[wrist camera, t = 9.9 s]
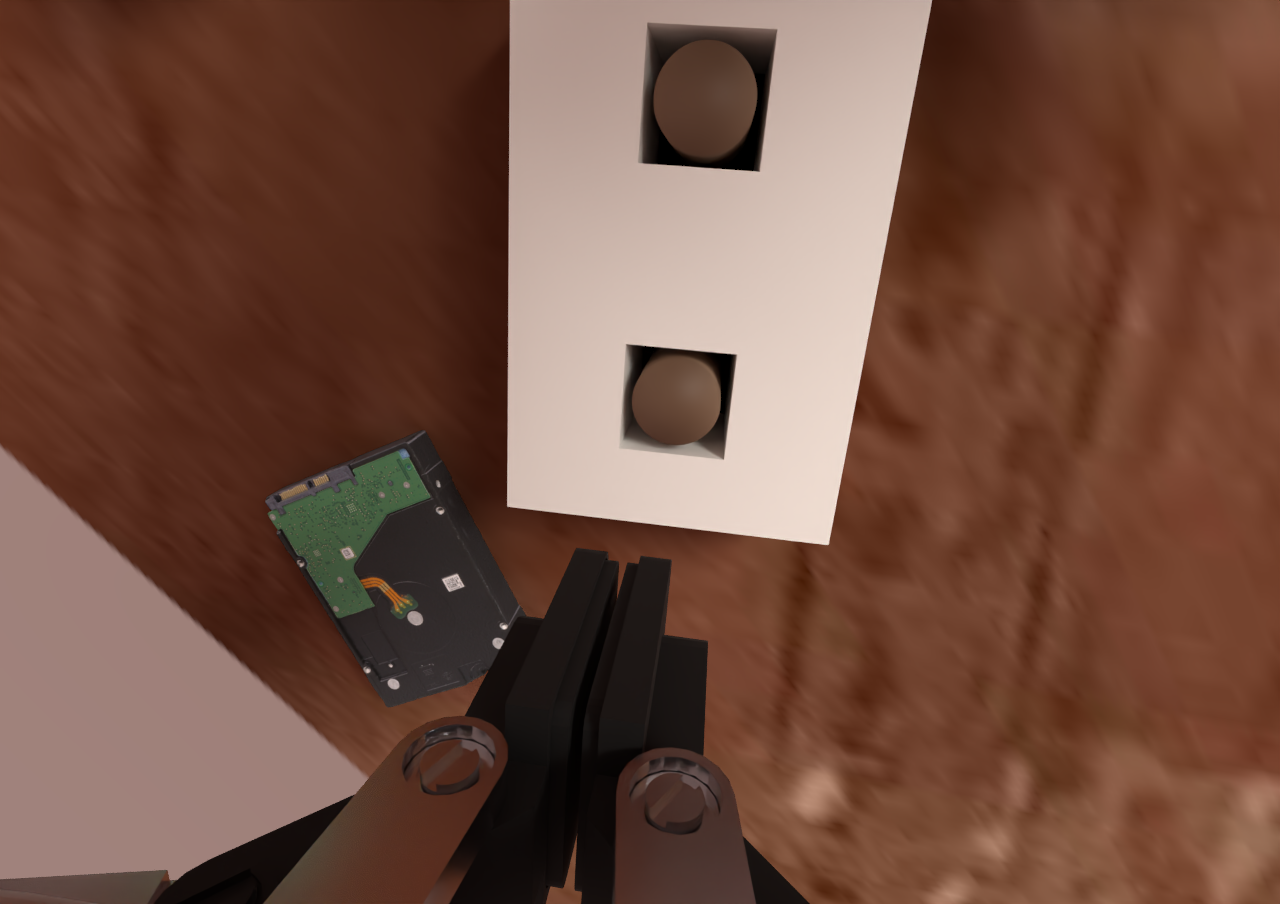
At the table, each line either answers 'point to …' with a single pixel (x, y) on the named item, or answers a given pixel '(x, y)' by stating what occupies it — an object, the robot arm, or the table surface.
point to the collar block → (698, 255)
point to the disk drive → (399, 568)
